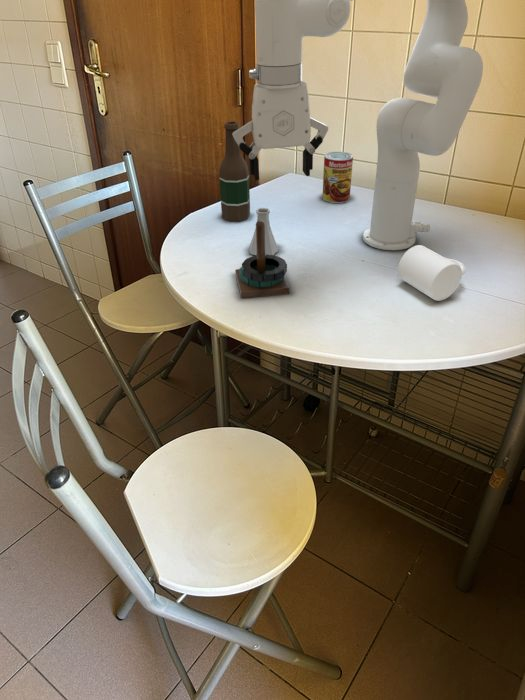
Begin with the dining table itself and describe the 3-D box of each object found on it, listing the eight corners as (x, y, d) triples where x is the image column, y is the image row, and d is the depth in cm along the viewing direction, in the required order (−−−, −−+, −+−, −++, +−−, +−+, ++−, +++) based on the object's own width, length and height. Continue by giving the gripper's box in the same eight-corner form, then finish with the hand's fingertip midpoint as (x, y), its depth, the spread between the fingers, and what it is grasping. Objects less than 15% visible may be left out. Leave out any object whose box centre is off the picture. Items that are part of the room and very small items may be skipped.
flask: (275, 258, 122) (275, 217, 116) (245, 256, 123) (243, 215, 117) (281, 245, 127) (281, 205, 121) (252, 243, 128) (250, 203, 123)
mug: (427, 305, 104) (434, 269, 99) (394, 284, 111) (400, 249, 106) (472, 290, 108) (481, 255, 103) (438, 270, 115) (444, 236, 111)
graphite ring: (281, 259, 114) (281, 252, 113) (291, 279, 107) (291, 272, 106) (239, 263, 113) (239, 256, 112) (246, 284, 106) (246, 277, 105)
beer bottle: (256, 214, 143) (253, 121, 129) (239, 224, 138) (235, 128, 124) (232, 209, 146) (227, 117, 132) (216, 218, 141) (209, 124, 127)
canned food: (330, 204, 148) (333, 161, 141) (317, 195, 154) (319, 153, 146) (354, 200, 150) (358, 157, 143) (340, 191, 156) (343, 150, 149)
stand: (280, 271, 116) (280, 209, 108) (289, 293, 108) (290, 228, 100) (235, 275, 115) (232, 213, 107) (241, 298, 107) (238, 232, 99)
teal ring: (278, 264, 116) (278, 258, 115) (287, 284, 109) (287, 277, 108) (237, 268, 115) (236, 262, 114) (243, 289, 107) (243, 282, 106)
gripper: (231, 83, 85) (238, 187, 95) (335, 75, 87) (331, 178, 97) (226, 74, 91) (233, 173, 101) (324, 68, 93) (321, 165, 103)
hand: (281, 176), depth 99 cm, fingers open, 9 cm apart
